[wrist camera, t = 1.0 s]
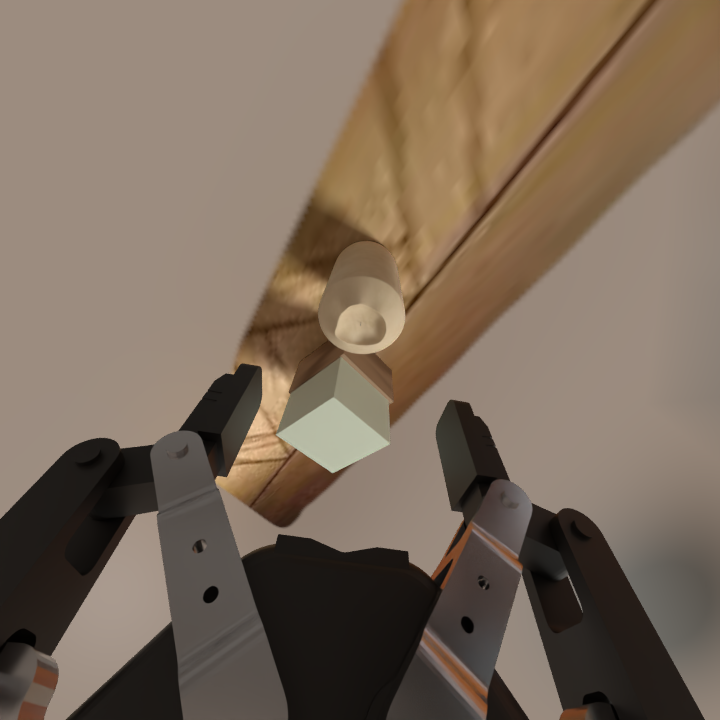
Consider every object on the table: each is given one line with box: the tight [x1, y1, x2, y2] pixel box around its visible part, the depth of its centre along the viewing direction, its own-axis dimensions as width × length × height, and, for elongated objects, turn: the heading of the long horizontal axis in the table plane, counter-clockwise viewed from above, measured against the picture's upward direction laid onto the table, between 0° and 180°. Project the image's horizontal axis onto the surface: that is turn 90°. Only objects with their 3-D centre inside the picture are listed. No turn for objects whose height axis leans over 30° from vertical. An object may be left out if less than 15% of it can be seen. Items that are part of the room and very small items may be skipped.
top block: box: [276, 357, 390, 473], centre depth 25 cm, size 6×6×5 cm
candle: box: [318, 241, 405, 354], centre depth 21 cm, size 6×6×10 cm
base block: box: [289, 341, 394, 404], centre depth 29 cm, size 7×7×5 cm
